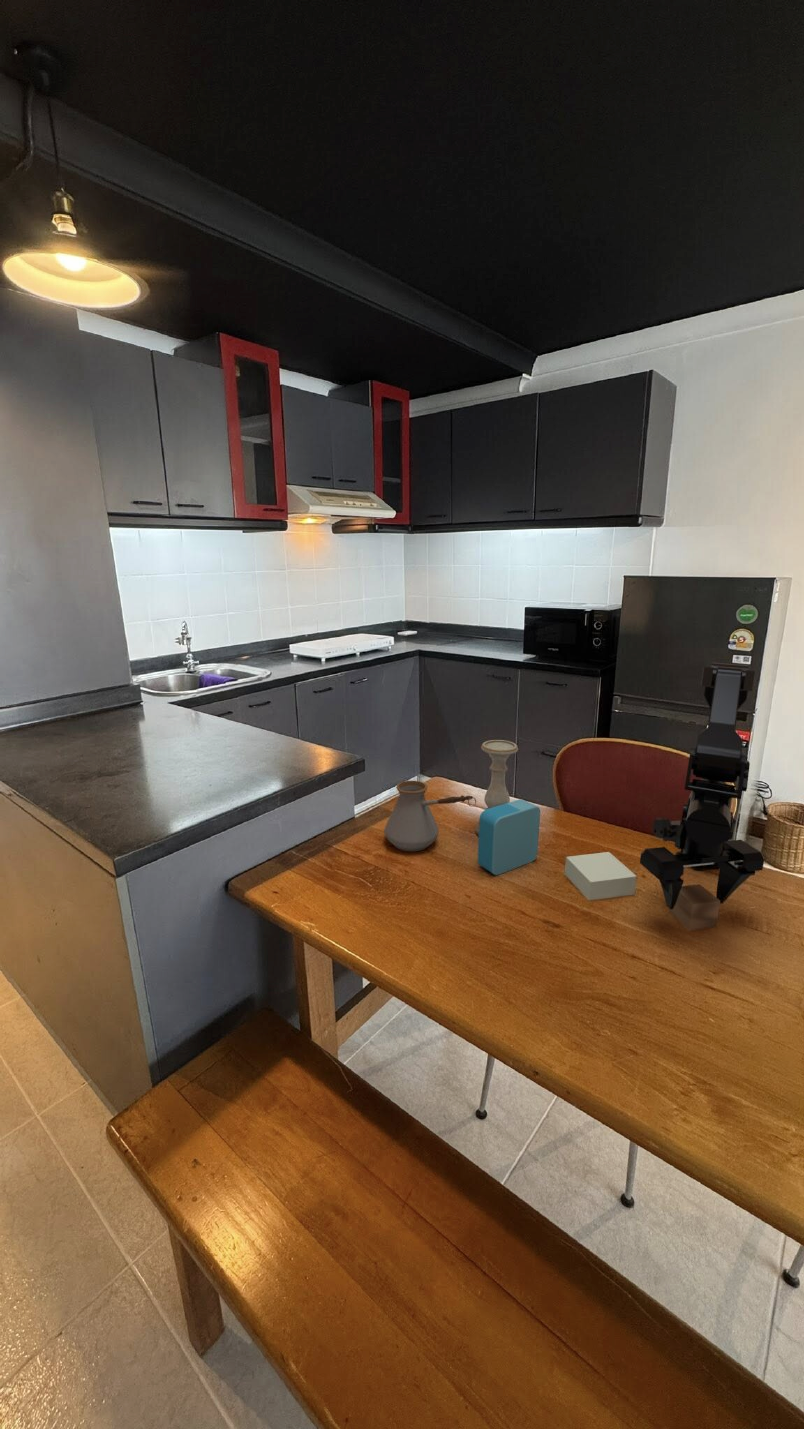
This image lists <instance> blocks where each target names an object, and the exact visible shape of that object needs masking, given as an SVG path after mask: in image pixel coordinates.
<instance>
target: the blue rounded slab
mask: <svg viewBox="0 0 804 1429" xmlns="http://www.w3.org/2000/svg"><path fill="white" fill-rule="evenodd" d="M540 820H541V809H540V807H539V806H537V805H535V804H534V803H532V802H529V801H527V800H524V799H521V798H519V799H516V800H513V801H510V802H509V803H506V804H502V805H499V806H496V807H492V808H489V809H486V808H485V809H484V810H483V811H482V812H481V813H480V815H479V822H478V823H479V836H478V844H477V846H478V848H477V863H478V865H479V866H480V867H482V868H484V869H485V870H487V871H488V872H490V873H491V874H493V875H494V876H499V875H502V874H504V873H506V872H509V871H512V870H515V869H517V868H520V867H522V866H524V865H527V864H530V863H533V862H534V861H535V860H536V858H537V857H538V851H539V838H540V837H539V836H540Z"/></svg>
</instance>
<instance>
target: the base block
mask: <svg viewBox="0 0 804 1429" xmlns="http://www.w3.org/2000/svg"><path fill="white" fill-rule="evenodd" d="M564 867H565V868H564V875H565V876H566V878H567V879H568V880H569V881H570V882H571V883H572V884H573V885H574V887H575V888H577V889H578V891H579V892H580V893H581V894H582V895H583V896H584V897H585V898H586V899H587V901H596V900H603V899H610V898H618V897H625V896H627V897H628V896H634V895H635V894H636V883H637V875H636V874H635V873H634V872H632V871H631V870H630V869H629V868H628V867H627V866H625V864H624V863H623V862H621V860H619V859H618V858H617V857H615V856H614V855H613V854H612V853H611V852H610V851H606V852H599V853H589V854H581V855H580V854H579V855H570V856H566V857H565V866H564Z"/></svg>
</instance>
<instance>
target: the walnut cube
mask: <svg viewBox="0 0 804 1429" xmlns="http://www.w3.org/2000/svg"><path fill="white" fill-rule="evenodd" d="M720 905H721V904H720V900H719V899H717V898H716V895H714V894H712V893H711V892H710V891H709V890H708V889H707V888H705V887H704V886H703V885H701V884H700V883H698V884H692V885H691V884H690V885H682V887H681V890H680V893H679V896H678V899H677V901H676V904H675V906H674V908H673V909H669V913H670V914H671V915H672V916H673V917H674V918H675V919H676V920H677V921H678V922H679V923H680V924H681V925H682V926H683V927H684V928H685V929H686V930H687V931H690V932H691V931H697V930H698V931H699V930H703V929H704V930H705V929H713V928H717V924H718V918H719V913H720V912H719V911H720Z"/></svg>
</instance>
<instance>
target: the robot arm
mask: <svg viewBox="0 0 804 1429" xmlns="http://www.w3.org/2000/svg"><path fill="white" fill-rule="evenodd" d="M755 679H756V670H755V671H754V670H749V665H748V664H734V663H724V662H723V663H721V662H711V665H710V667H709V666H707V667H706V666H705V667H704V666H703V668H702V676H701V683H700V687H702V688H703V687H704V693H703V696H704V699H705V701H706V703H707V705H708V707H709V710H710V711H709V717H708V724H707V727H706V728H705V729H703V730H702V731H701V732H699V733H698V735H697V740H696V746H695V747H694V746H690V752H689V753H690V754H689V758H688V765H687V770H686V777H685V783H684V790H686V791H691V793H689V796H688V803H684V804H683V808H682V815H681V820H672V821H671V820H670V818H665V817H659V818H657V817H656V818H655V819H654V820H653V826H652V828H653V835H654V837H657V838H660V839H662V841H664V842H672V843H674V847H676V848H677V849H678V850H680V851H676V852H675V854H674V853H673V852H672V851H670V850H669V849H668V848H667V847H665V846H662V847H661V846H660V847H648V848H645V849H643V850H642V851H641V853H640V859H639V864H640V865H641V866H642V867H644V868H645V869H646V870H647V871H648V872H649V873H651V874H652V875H653V876H654V877H655V878H656V879H657V880H659V883H660V886H661V889H662V893H663V898H664V900H665V904H666V907H667V908H668V909H669V910H670V909H673V908H674V906H675V904H676V901H677V899H678V896H679V893H680V890H681V887H682V886H683V884H684V879H683V878H681V877H682V876H683V875H684V874H685V868H688V867H690V868H692V869H694V870H696V871H702V870H713V869H719V871H718V877H717V878H718V879H717V885H716V892H715V897H716V898H717V899H719V900H720V905H721V904H724V902H726V900H728V898H729V897H730V896H731V895H733V893H734V892H735V891H736V890H737V889H738V888H739V887H740V886H742V884H743V883H745V881H747V880H748V879H749V878H750V877H751V876H754V875H756V872H758V871H763V868H764V863H765V857H764V856H763V853H762V852H761V851H760V850H759V849H756V848H755V847H753V846H752V845H750V844H749V843H747V842H745V841H744V840H742V839H733V837H734V836H733V835H734V830H735V827H736V822H737V821H736V819H735V818H734V814H733V811H731V809H732V801H733V799H738V800H741V799H742V795H743V794H742V793H743V792H747V789H748V783H749V782H748V781H749V772H750V766H751V765H750V764H751V762H749V759H748V756H747V754H745V753H744V754H743V742H744V740H743V738H742V737H741V735H740V734H739V733H738V732H737V731H736V728H737V719H738V712H739V709H740V708H741V706H743V705H744V704H745V703H746V701H747V699H748V698H747V697H748V693H749V692H754V685H755ZM692 775H693V776H695V778H693V779H692V781H691V776H692ZM696 778H700V779H696ZM737 780H738V782H737ZM736 782H737V788H736V785H733V784H734V783H736ZM729 783H730V784H729Z"/></svg>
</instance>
